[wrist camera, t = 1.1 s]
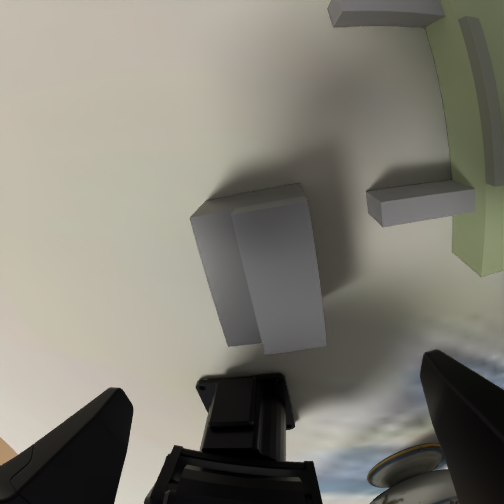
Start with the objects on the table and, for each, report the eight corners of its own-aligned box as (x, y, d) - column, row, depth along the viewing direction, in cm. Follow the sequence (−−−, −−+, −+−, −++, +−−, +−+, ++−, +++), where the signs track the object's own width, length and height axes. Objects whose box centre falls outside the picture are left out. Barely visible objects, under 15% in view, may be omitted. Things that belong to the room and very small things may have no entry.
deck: (540, 231, 15) (576, 253, 11) (372, 268, 17) (396, 307, 13) (505, -11, 9) (540, -25, 5) (311, -38, 11) (320, -78, 7)
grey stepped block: (317, 298, 18) (326, 345, 14) (235, 310, 19) (225, 358, 15) (299, 182, 16) (307, 201, 12) (206, 200, 17) (183, 224, 12)
